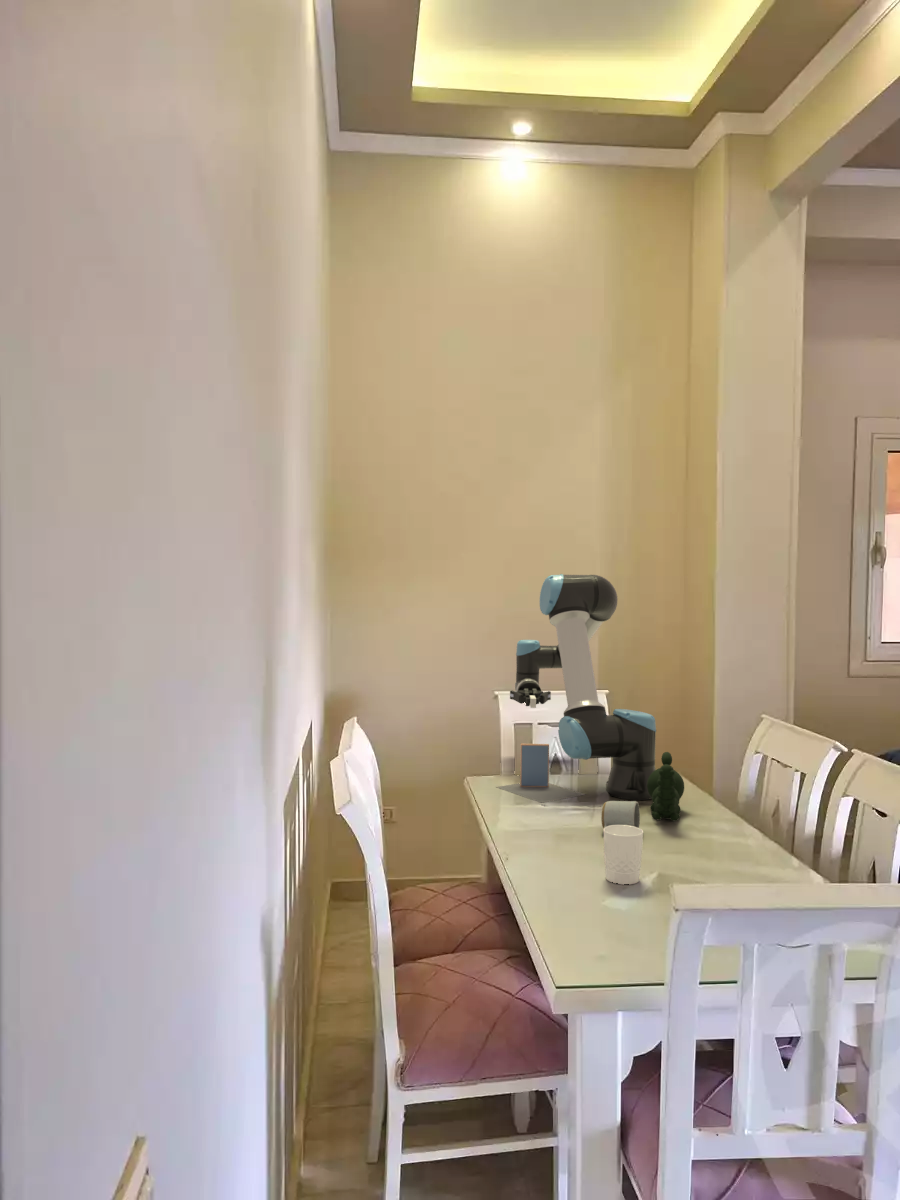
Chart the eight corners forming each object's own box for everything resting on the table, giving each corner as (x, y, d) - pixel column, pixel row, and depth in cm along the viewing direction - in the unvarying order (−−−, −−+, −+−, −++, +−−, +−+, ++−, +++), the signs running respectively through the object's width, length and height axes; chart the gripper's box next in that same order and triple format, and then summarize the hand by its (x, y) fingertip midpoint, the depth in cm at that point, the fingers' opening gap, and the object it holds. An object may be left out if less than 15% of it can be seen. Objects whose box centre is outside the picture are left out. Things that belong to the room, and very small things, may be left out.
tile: (520, 785, 256) (520, 743, 255) (548, 785, 255) (548, 743, 255) (520, 786, 254) (520, 744, 254) (548, 787, 254) (549, 745, 253)
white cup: (614, 870, 186) (615, 822, 186) (649, 878, 181) (650, 829, 181) (595, 879, 180) (596, 830, 180) (630, 889, 175) (631, 838, 175)
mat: (586, 797, 246) (586, 794, 246) (541, 805, 237) (541, 802, 237) (539, 782, 262) (539, 780, 262) (495, 789, 253) (495, 787, 253)
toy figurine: (685, 836, 216) (682, 801, 241) (687, 760, 214) (684, 732, 238) (645, 833, 218) (647, 798, 243) (647, 757, 216) (648, 730, 240)
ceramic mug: (606, 826, 218) (606, 795, 218) (640, 829, 215) (640, 798, 215) (597, 839, 209) (597, 806, 208) (632, 843, 206) (632, 810, 205)
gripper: (549, 703, 285) (555, 716, 261) (508, 703, 285) (510, 715, 262) (549, 680, 285) (556, 690, 261) (508, 679, 285) (511, 690, 261)
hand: (533, 703), depth 261 cm, fingers closed
